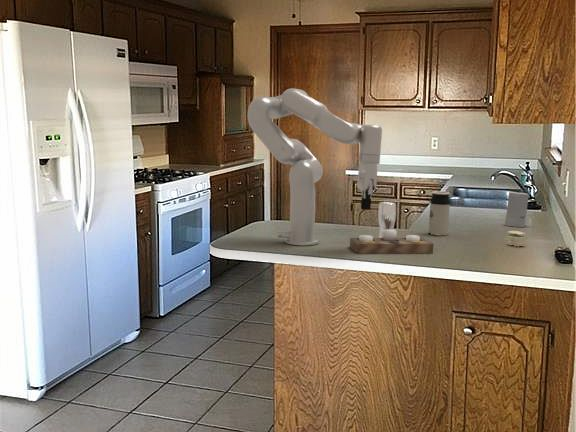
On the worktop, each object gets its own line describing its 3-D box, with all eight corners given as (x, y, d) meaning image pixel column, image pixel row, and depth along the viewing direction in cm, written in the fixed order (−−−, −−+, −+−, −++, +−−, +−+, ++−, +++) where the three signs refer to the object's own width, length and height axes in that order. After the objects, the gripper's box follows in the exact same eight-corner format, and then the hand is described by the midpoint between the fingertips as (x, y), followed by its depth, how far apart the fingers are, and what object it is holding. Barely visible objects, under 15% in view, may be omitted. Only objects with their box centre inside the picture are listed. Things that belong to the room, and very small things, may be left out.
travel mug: (446, 233, 273) (449, 191, 271) (448, 236, 266) (451, 193, 263) (427, 232, 275) (430, 190, 272) (429, 235, 267) (431, 192, 264)
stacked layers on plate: (533, 247, 248) (534, 233, 247) (517, 249, 244) (518, 235, 243) (513, 243, 256) (514, 229, 256) (497, 244, 252) (498, 231, 251)
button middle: (384, 241, 233) (385, 231, 232) (381, 239, 238) (381, 229, 237) (398, 241, 234) (398, 231, 233) (393, 239, 238) (394, 229, 238)
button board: (357, 253, 226) (358, 243, 226) (349, 246, 238) (350, 236, 237) (432, 253, 230) (433, 242, 230) (421, 246, 242) (421, 236, 242)
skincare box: (505, 226, 297) (507, 192, 295) (507, 224, 304) (510, 191, 301) (524, 227, 293) (526, 193, 291) (526, 225, 300) (529, 192, 297)
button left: (360, 247, 232) (361, 237, 231) (357, 245, 237) (357, 235, 236) (374, 247, 233) (374, 237, 232) (370, 245, 238) (370, 235, 237)
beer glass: (381, 242, 249) (383, 204, 247) (374, 238, 256) (376, 201, 254) (397, 241, 251) (399, 204, 249) (390, 238, 258) (392, 201, 255)
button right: (408, 247, 235) (408, 237, 234) (403, 244, 239) (404, 234, 239) (421, 247, 235) (421, 237, 235) (416, 244, 240) (417, 234, 240)
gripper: (354, 157, 237) (350, 205, 240) (364, 160, 222) (360, 212, 225) (373, 158, 238) (369, 206, 241) (385, 161, 223) (381, 212, 226)
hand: (365, 209), depth 233 cm, fingers closed
